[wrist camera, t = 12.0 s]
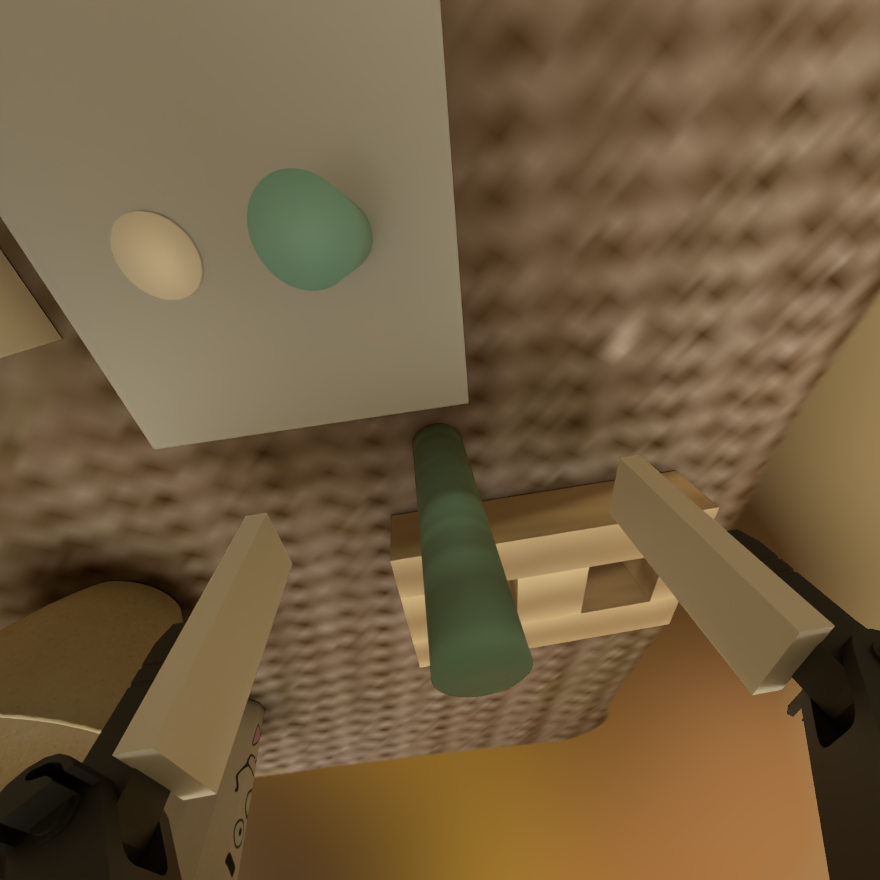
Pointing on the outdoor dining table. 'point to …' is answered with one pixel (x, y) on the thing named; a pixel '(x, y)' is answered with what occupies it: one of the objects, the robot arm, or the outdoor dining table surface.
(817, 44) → the outdoor dining table surface
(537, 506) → the board
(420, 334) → the board
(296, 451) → the outdoor dining table surface
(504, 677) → the peg
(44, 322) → the block
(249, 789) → the cup
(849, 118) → the outdoor dining table surface
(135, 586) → the flower pot
